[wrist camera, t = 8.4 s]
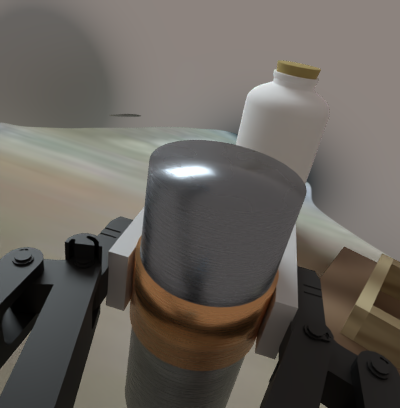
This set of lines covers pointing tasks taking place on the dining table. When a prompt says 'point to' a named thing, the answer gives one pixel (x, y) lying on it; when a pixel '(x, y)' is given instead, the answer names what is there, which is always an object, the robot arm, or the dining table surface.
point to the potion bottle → (286, 117)
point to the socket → (363, 304)
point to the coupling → (205, 269)
